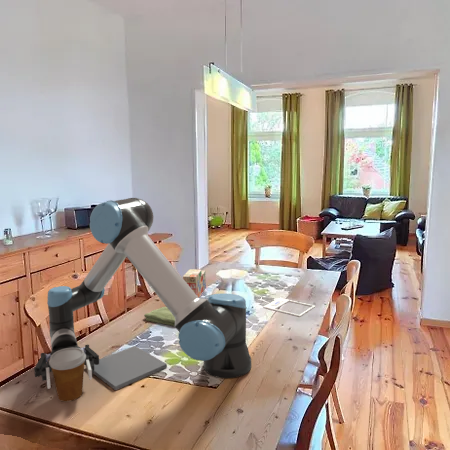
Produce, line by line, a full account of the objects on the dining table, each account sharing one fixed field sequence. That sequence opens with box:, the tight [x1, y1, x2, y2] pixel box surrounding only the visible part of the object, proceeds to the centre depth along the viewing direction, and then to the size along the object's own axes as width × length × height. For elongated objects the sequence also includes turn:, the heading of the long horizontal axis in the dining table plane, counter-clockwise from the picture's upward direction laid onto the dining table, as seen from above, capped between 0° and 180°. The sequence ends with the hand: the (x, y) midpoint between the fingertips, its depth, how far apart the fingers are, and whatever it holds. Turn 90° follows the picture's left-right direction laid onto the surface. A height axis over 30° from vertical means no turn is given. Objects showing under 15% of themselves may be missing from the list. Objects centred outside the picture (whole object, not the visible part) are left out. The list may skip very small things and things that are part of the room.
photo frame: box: [262, 297, 316, 318], centre depth 179 cm, size 15×1×18 cm
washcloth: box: [143, 306, 175, 327], centre depth 167 cm, size 13×18×3 cm
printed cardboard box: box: [182, 268, 207, 298], centre depth 196 cm, size 21×6×12 cm, turn 171°
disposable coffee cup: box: [48, 347, 86, 402], centre depth 112 cm, size 10×10×12 cm
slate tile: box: [92, 345, 168, 391], centre depth 127 cm, size 18×18×1 cm
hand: (69, 379), depth 108 cm, fingers open, 10 cm apart
